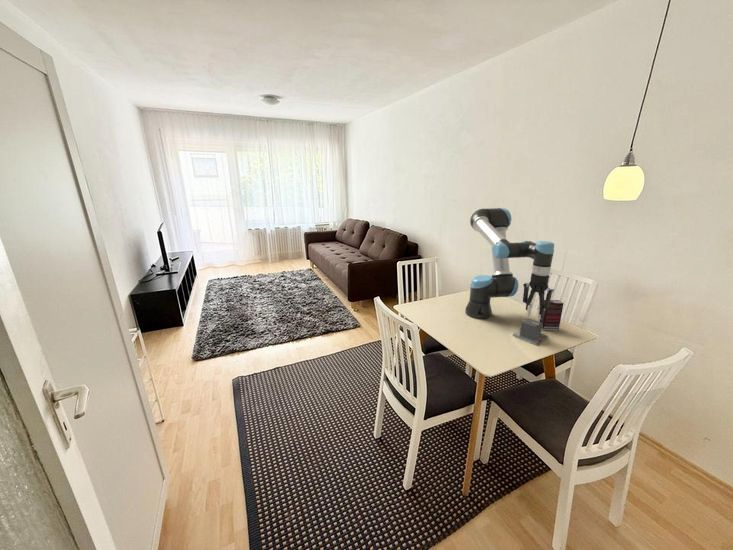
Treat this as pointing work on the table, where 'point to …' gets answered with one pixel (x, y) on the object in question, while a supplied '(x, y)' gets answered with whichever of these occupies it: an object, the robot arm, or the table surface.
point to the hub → (532, 341)
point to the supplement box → (552, 315)
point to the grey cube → (531, 328)
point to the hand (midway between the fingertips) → (533, 318)
